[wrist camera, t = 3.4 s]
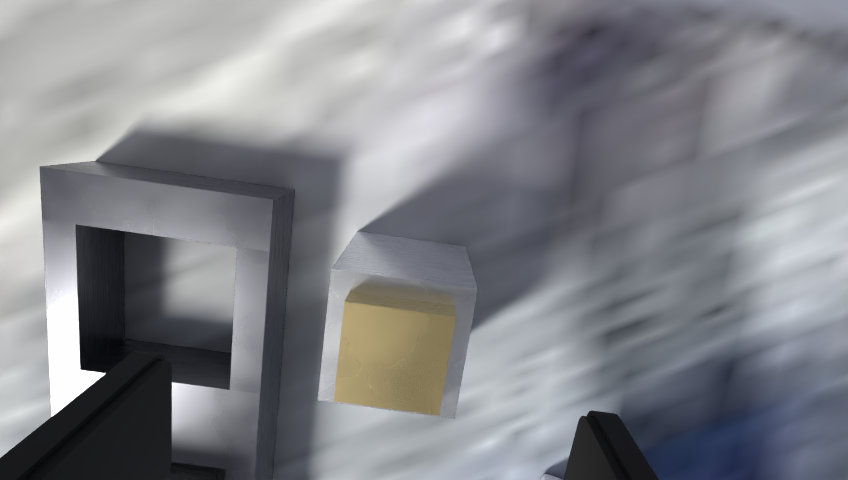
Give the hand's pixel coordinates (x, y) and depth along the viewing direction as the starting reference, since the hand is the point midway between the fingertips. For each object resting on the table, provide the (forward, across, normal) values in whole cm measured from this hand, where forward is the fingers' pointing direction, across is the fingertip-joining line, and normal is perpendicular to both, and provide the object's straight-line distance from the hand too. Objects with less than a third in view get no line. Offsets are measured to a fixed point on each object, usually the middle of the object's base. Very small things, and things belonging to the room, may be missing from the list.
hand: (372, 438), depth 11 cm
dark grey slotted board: (+12, +10, +7) cm, 17 cm away
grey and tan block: (+12, 0, +1) cm, 12 cm away
